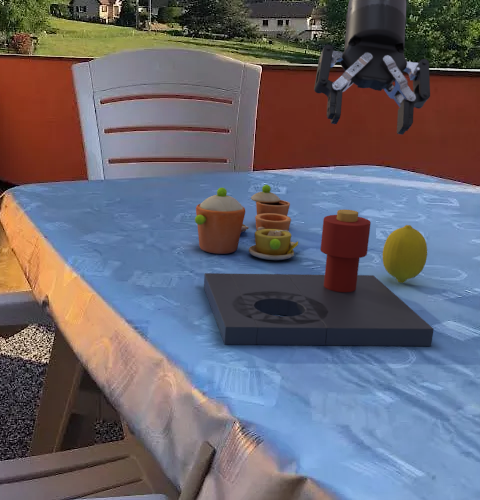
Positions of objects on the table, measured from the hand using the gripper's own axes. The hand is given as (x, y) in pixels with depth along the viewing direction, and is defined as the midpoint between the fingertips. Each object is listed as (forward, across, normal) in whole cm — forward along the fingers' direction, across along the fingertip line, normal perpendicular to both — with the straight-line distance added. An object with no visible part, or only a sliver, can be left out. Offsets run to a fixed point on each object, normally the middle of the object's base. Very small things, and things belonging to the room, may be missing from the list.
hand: (369, 126), depth 90 cm
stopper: (+21, -1, +3) cm, 21 cm away
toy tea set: (+7, -10, +28) cm, 31 cm away
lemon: (+16, +9, +12) cm, 22 cm away
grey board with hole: (+26, -6, +1) cm, 26 cm away
